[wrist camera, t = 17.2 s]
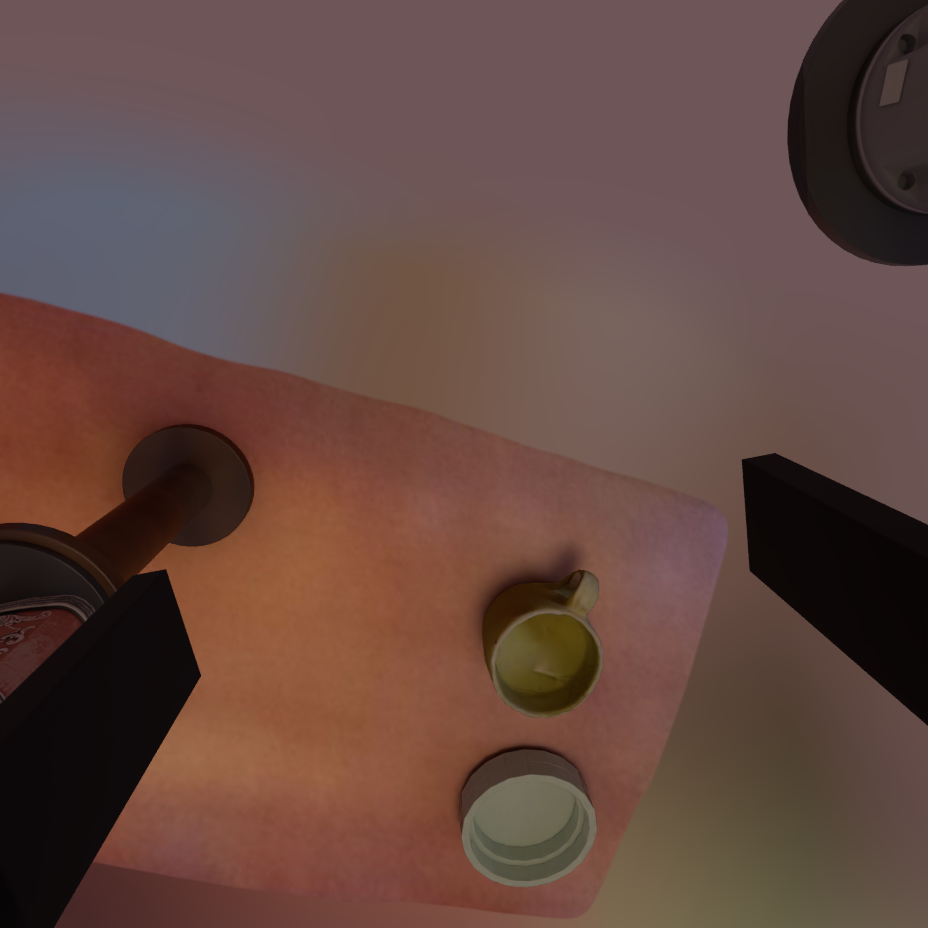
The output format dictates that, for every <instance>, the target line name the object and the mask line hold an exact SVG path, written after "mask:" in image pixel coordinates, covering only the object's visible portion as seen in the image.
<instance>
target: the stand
mask: <svg viewBox="0 0 928 928" xmlns="http://www.w3.org/2000/svg"><path fill="white" fill-rule="evenodd" d="M122 485H123V493H124V497H125V500H126V501H124V502H123V503H122V504H120V505H119V506H117V507H116V508H115V509H113V510H112V511H110V512H109V513H108V514H106V515H105V516H103V517H102V518H101V519H99V520H98V521H96V522H95V523H94V524H92V525H91V526H89V527H88V528H87V529H85V530H84V531H82V532H81V533H80V534H78V535H77V536H75V537H74V536H72V535H70V534H68V533H66V532H63V531H60V530H57V529H54V528H51V527H46V526H42V525H37V524H28V523H3V524H0V604H5V603H10V602H15V601H19V600H24V599H29V598H37V597H48V596H59V595H74V596H77V597H80V598H82V599H84V600H86V601H87V602H88V603H89V604H90V605H92V606H93V608H94V609H95V611H96V610H97V609H98V608H99V607H100V606H102V605H103V604H104V603H105V602H106V601H107V600H108V599H109V598H110V597H111V596H112V595H113V594H114V593H115V592H116V591H117V590H118V589H119V588H120V587H121V586H122V585H123V584H124V583H125V582H126V581H127V580H128V579H129V578H130V577H131V576H133V575H138V574H139V573H140V572H141V571H142V570H143V569H144V568H145V567H146V566H147V565H148V564H149V563H150V562H151V560H152V559H153V558H154V557H155V556H156V555H157V554H158V553H159V552H160V551H161V550H162V549H163V548H164V547H165V546H166V545H167V544H168V543H172V544H176V545H181V546H203V545H208V544H211V543H214V542H217V541H219V540H221V539H223V538H225V537H226V536H228V535H229V534H230V533H232V532H233V531H234V530H235V529H236V528H237V527H238V526H239V525H240V523H241V522H242V521H243V519H244V518H245V517H246V515H247V513H248V511H249V509H250V507H251V504H252V500H253V496H254V480H253V475H252V471H251V469H250V466H249V464H248V462H247V460H246V458H245V456H244V455H243V453H242V452H241V451H240V450H239V448H238V447H237V446H236V445H235V444H234V443H233V442H232V441H230V440H229V439H228V438H226V437H225V436H224V435H222V434H220V433H218V432H216V431H214V430H212V429H209V428H206V427H202V426H198V425H188V424H182V425H174V426H170V427H166V428H163V429H161V430H158V431H157V432H155V433H153V434H151V435H149V436H148V437H146V438H145V439H143V440H142V441H141V442H140V443H139V444H138V445H137V446H136V447H135V448H134V449H133V451H132V452H131V454H130V455H129V457H128V459H127V461H126V464H125V467H124V471H123V482H122Z"/></svg>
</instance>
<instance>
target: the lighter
mask: <svg viewBox="0 0 928 928" xmlns="http://www.w3.org/2000/svg"><path fill="white" fill-rule="evenodd" d="M94 612H95V609H94V608H93V606H92V605H90V604H89V603H88V602H87V601H86V600H84V599H82V598H80V597H77V596H74V595H59V596H48V597H37V598H29V599H24V600H19V601H15V602H10V603H5V604H0V704H1V703H2V702H3V701H4V700H5V699H6V698H7V697H8V696H9V695H10V694H11V693H12V692H13V691H14V690H15V689H16V688H17V687H18V686H19V685H20V684H21V683H22V682H23V681H24V680H25V679H26V678H27V677H28V676H29V675H30V674H31V673H33V672H34V671H35V670H36V669H37V668H38V667H39V666H40V665H41V664H42V663H43V662H44V661H45V660H46V659H47V658H48V657H49V656H50V655H51V654H52V653H53V652H54V651H55V650H56V649H57V648H58V647H59V646H60V645H61V644H62V643H63V642H64V641H65V640H67V639H68V638H69V637H70V636H71V635H72V634H73V633H74V632H75V631H76V630H77V629H78V628H79V627H80V626H81V625H82V624H83V623H84V622H85V621H86V620H87V619H88V618H89V617H90V616H91V615H92V614H93V613H94Z"/></svg>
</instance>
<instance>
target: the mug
mask: <svg viewBox="0 0 928 928" xmlns="http://www.w3.org/2000/svg"><path fill="white" fill-rule="evenodd" d="M598 593H599V582H598V579H597V578H596V576H595V575H594V574H592V573H590V572H588V571H585V570H578V571H575V572H573V573H571V574H570V575H568V576H566V577H565V578H564V579H563V580H562V581H561V582H559V583H554V582H550V583H525V584H518V585H514V586H512V587H510V588H508V589H506V590H505V591H503V592H502V593H501V594H500V595H498V597H497V598H496V599H495V600H494V601H493V603H492V604H491V605H490V607H489V609H488V611H487V612H486V615H485V617H484V620H483V627H482V638H483V648H484V656H485V662H486V665H487V668H488V670H489V673H490V676H491V679H492V682H493V685H494V687H495V690H496V691H497V693H498V695H499V696H500V697H501V699H502V700H503V701H504V703H505V704H507V705H508V706H510V707H511V708H512V709H514V710H515V711H518V712H520V713H522V714H524V715H526V716H529V717H540V718H551V717H556V716H559V715H562V714H564V713H567V712H569V711H571V710H573V709H574V708H576V707H577V706H578V705H580V704H581V703H582V702H583V701H584V700H585V699H586V698H587V697H588V696H589V695H590V694H591V692H592V691H593V689H594V687H595V686H596V684H597V682H598V680H599V678H600V675H601V671H602V667H603V651H602V645H601V641H600V639H599V637H598V635H597V633H596V632H595V630H594V628H593V627H592V625H591V624H590V622H589V620H588V618H587V616H586V615H587V613H588V612H589V610H590V609H591V608H593V606H594V605H595V603H596V601H597V599H598Z"/></svg>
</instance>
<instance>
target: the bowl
mask: <svg viewBox="0 0 928 928" xmlns="http://www.w3.org/2000/svg"><path fill="white" fill-rule="evenodd" d="M459 814H460V827H461V838H462V843H463V847H464V852H465V854H466V856H467V857H468V859H469V860H470V862H471V863H472V865H473V866H474V868H475V869H476V870H478V871H479V872H480V873H482V874H483V875H484V876H486V877H487V878H489V879H490V880H492V881H495V882H498V883H501V884H504V885H507V886H517V887H532V886H536V885H541V884H546V883H551V882H553V881H555V880H557V879H559V878H561V877H563V876H565V875H567V874H569V873H570V872H571V871H572V870H573V869H574V868H576V867H577V866H578V865H579V864H580V863H581V862H582V861H583V860H584V859H585V857H586V855H587V854H588V852H589V851H590V849H591V847H592V846H593V843H594V839H595V834H596V830H597V824H596V817H595V810H594V807H593V804H592V801H591V798H590V795H589V793H588V790H587V787H586V784H585V782H584V780H583V779H582V777H581V775H580V774H579V772H578V770H577V769H576V768H575V767H574V766H572V765H571V764H570V763H569V762H567V761H566V760H565V759H564V758H562V757H560V756H557V755H554V754H552V753H549V752H547V751H543V750H530V749H523V750H518V751H513V752H508V753H503V754H501V755H499V756H497V757H495V758H493V759H491V760H489V761H487V762H486V763H484V764H483V765H482V766H481V767H480V768H479V769H478V770H477V771H476V772H475V773H474V774H472V776H471V777H470V779H469V780H468V782H467V784H466V786H465V788H464V789H463V791H462V794H461V801H460V807H459Z"/></svg>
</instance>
